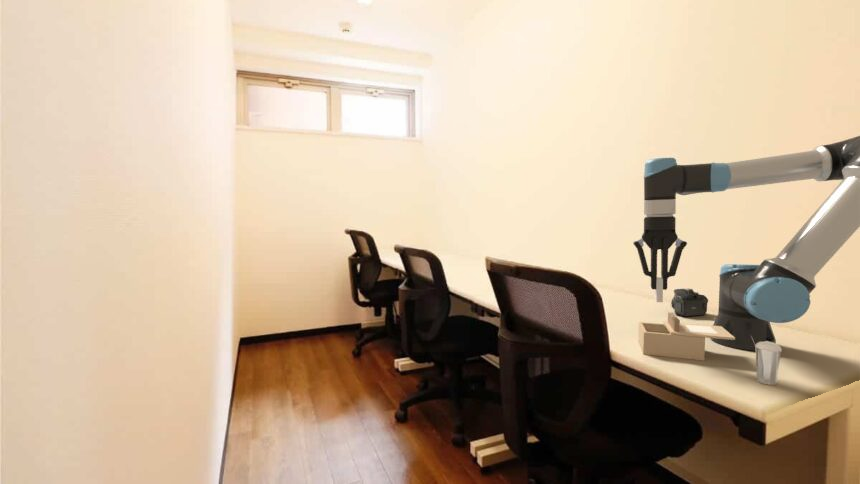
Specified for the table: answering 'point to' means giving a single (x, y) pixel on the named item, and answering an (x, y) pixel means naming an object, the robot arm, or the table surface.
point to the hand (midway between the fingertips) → (658, 301)
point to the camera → (689, 303)
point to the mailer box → (669, 342)
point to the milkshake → (767, 362)
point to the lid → (695, 329)
